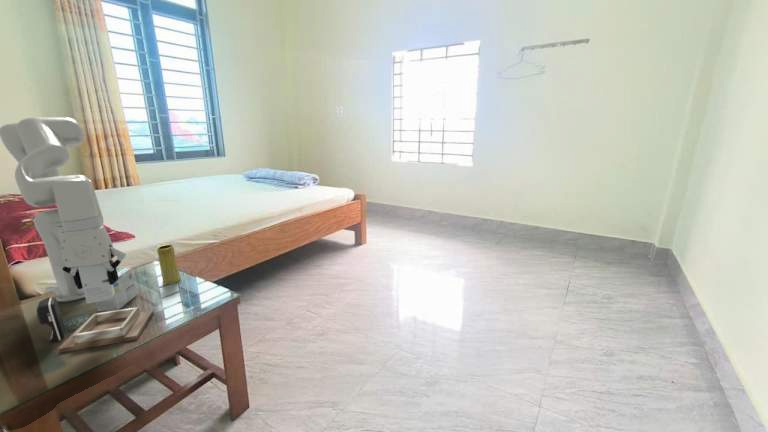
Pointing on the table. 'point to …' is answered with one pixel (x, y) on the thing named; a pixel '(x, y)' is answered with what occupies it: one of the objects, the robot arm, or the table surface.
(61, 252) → the robot arm
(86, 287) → the skincare box
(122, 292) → the light bulb box
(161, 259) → the vase
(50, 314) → the black hard case
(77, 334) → the holder
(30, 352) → the table surface
